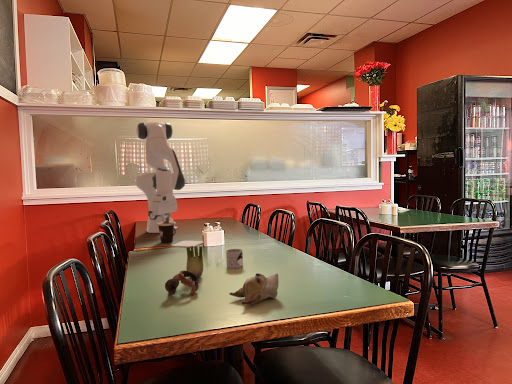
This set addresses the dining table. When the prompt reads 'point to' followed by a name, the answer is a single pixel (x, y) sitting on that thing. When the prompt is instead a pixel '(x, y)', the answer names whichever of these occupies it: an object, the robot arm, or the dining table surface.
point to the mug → (234, 258)
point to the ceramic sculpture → (258, 289)
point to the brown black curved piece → (174, 282)
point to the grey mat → (187, 244)
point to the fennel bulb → (195, 261)
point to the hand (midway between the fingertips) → (166, 221)
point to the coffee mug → (166, 233)
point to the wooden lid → (166, 223)
